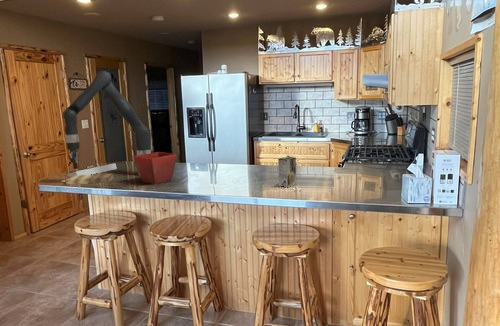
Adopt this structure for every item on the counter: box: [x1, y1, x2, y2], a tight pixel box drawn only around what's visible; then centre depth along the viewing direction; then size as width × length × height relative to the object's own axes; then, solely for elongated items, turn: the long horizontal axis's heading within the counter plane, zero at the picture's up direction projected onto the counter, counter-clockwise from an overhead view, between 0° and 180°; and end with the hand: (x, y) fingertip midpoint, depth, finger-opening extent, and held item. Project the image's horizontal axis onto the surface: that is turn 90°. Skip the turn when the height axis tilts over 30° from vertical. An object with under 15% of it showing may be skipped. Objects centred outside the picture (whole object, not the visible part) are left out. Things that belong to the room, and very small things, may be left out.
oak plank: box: [65, 174, 96, 185], centre depth 233 cm, size 14×14×3 cm
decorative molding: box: [66, 162, 117, 178], centre depth 264 cm, size 34×5×10 cm
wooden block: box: [89, 173, 114, 184], centre depth 235 cm, size 11×14×3 cm
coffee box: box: [277, 156, 297, 188], centre depth 207 cm, size 9×6×16 cm
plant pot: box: [133, 151, 177, 185], centre depth 227 cm, size 19×19×17 cm
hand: (75, 168), depth 232 cm, fingers closed
